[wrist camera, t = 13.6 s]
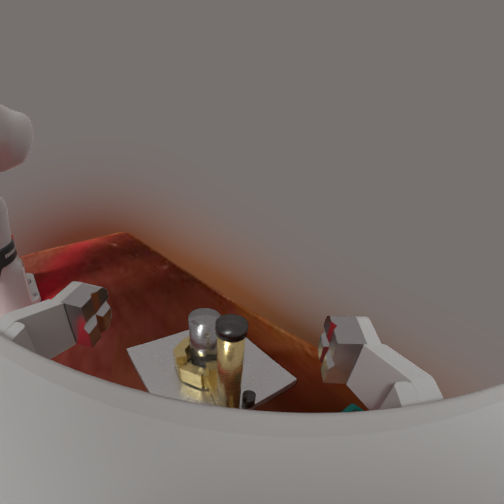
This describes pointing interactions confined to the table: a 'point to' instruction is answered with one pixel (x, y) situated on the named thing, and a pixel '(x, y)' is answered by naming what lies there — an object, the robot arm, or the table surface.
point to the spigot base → (175, 388)
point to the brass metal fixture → (218, 362)
